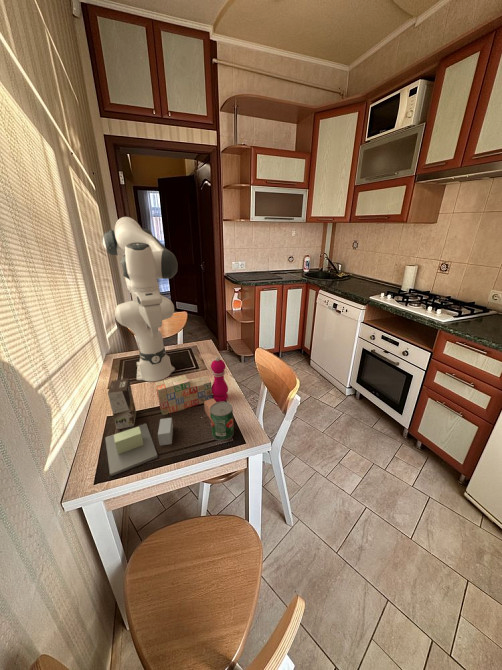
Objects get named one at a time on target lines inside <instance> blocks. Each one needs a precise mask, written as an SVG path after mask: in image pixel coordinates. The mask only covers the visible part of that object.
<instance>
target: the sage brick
mask: <svg viewBox="0 0 502 670" xmlns="http://www.w3.org/2000/svg"><path fill="white" fill-rule="evenodd" d="M135 427H136V428H134V427H132V428H133V429H131V428H129V429H130V430H128V429H126V430H127V431H125V430H123V431H124V432H122V431H120V432H121V433H119V432H117V433H118V434H116V433H114V434H115V435H114V440H115V445H116V449H117V452H118V454H120V453H123V452H126V451H129V450H131V449H134V448H137V447H139V446H142V445H144V444H143V440H142V435H141V431H140V428H139V427H137V426H135Z"/></svg>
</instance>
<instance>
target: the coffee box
mask: <svg viewBox="0 0 502 670" xmlns="http://www.w3.org/2000/svg"><path fill="white" fill-rule="evenodd" d="M107 396H108V400H109V403H110V408H111V411H112V415H113V416H112V417H113V420H114V424H115V427H116V430H121V429H127V428H134V427H135V422H136V417H137V416H136V415H137V410H136V404H135V400H134V396H133V391H132V386H131V382H130V378H129V377H127V378H122V379H117V380H111V382H110V386H109V387H108V392H107Z"/></svg>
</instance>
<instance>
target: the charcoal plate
mask: <svg viewBox="0 0 502 670" xmlns="http://www.w3.org/2000/svg"><path fill="white" fill-rule="evenodd" d="M136 427H139V428H140V431H141V435H142V440H143V444H144V445H142V446H139V447H137V448H134V449H131V450H129V451H126V452H123V453H120V454H118V452H117V449H116V445H115V440H114V435H115V434H118V433H121V432H124V431H127V430H130V429H133V428H136ZM104 439H105V447H106V448H105V449H106V452H107V453H106V455H107V462H108V463H107V464H108V470H109V476H110V477H114V476H116V475H118V474H121V473H123V472H125V471H128V470H130V469H133V468H135V467H137V466H140V465H143V464H145V463H147V462H150V461H152V460H156V459H157V458H158V456H159V455H158V453H157V450H156V447H155V443H154V441H153V438H152V435H151V432H150V430H149V427H148V425H147V423H143V424H139V425H137V426H133V427H130V428H128V429H125V430H122V431H120V432H117V433H113V434H111V435H109V436H106V437H104Z"/></svg>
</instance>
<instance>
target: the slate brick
mask: <svg viewBox="0 0 502 670" xmlns="http://www.w3.org/2000/svg"><path fill="white" fill-rule="evenodd" d="M158 425H159V426H158V432H157V439H158V445H159V446H167V445H172V443H173V436H174V423H173V418H172V417H167V418H160V419H159V424H158Z"/></svg>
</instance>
